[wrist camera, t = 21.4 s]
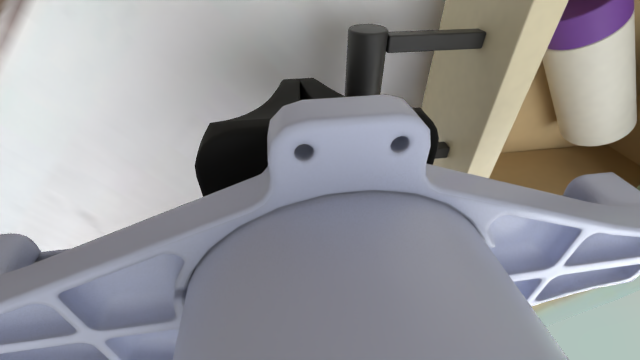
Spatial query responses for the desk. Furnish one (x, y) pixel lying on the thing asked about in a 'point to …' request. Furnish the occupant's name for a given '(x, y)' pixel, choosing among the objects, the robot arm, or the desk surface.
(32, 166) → the desk surface
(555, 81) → the glue stick
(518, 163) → the drawer
